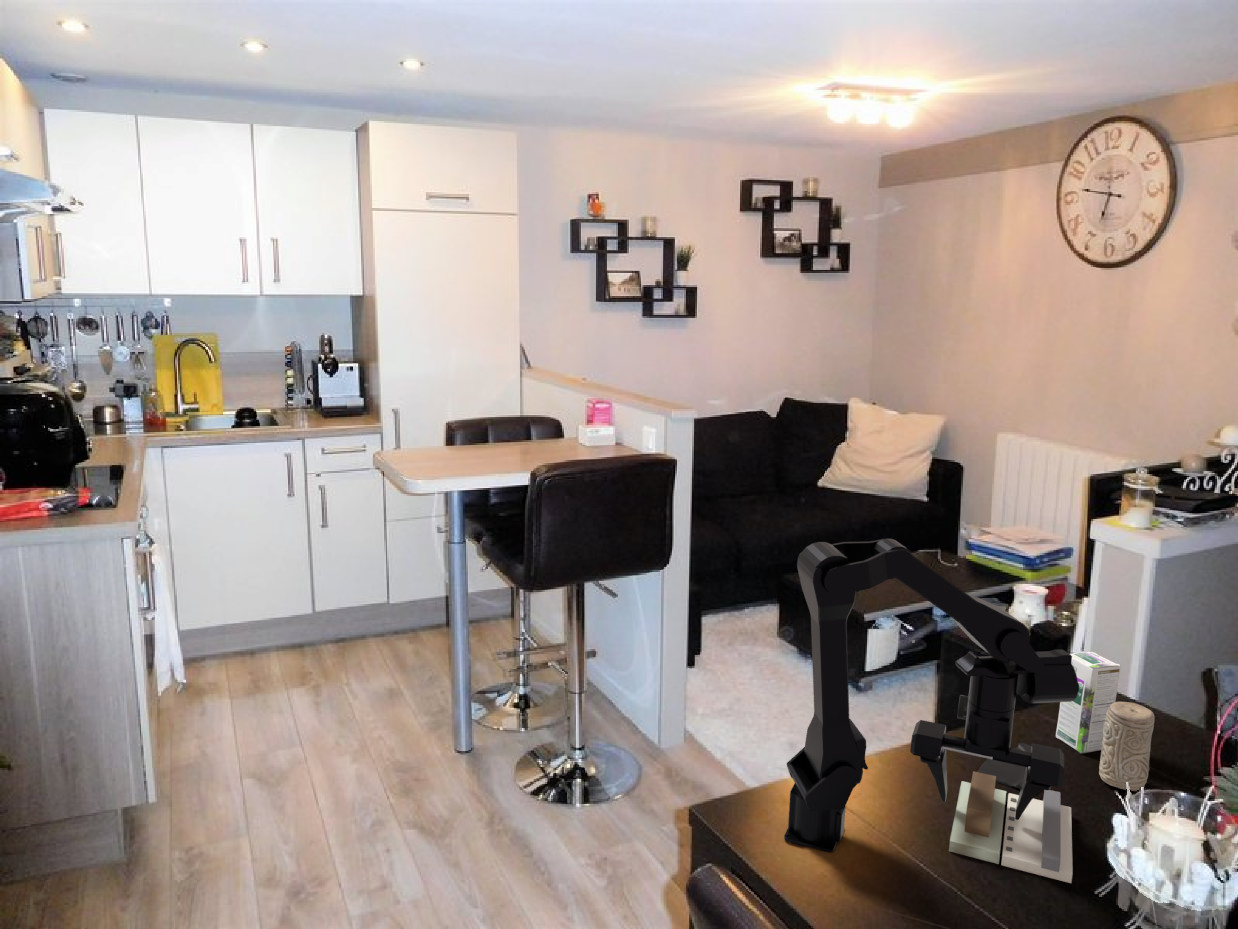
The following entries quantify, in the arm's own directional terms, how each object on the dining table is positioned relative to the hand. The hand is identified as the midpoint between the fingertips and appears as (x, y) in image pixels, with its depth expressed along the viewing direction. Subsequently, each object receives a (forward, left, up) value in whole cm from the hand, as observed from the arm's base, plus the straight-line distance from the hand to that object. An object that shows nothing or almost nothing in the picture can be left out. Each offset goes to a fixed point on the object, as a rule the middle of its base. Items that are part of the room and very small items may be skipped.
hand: (979, 809), depth 124 cm
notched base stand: (+7, 0, -2) cm, 8 cm away
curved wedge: (+4, +18, -3) cm, 19 cm away
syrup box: (+13, +32, -3) cm, 35 cm away
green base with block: (0, 0, -2) cm, 2 cm away
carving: (+18, +21, -3) cm, 28 cm away
